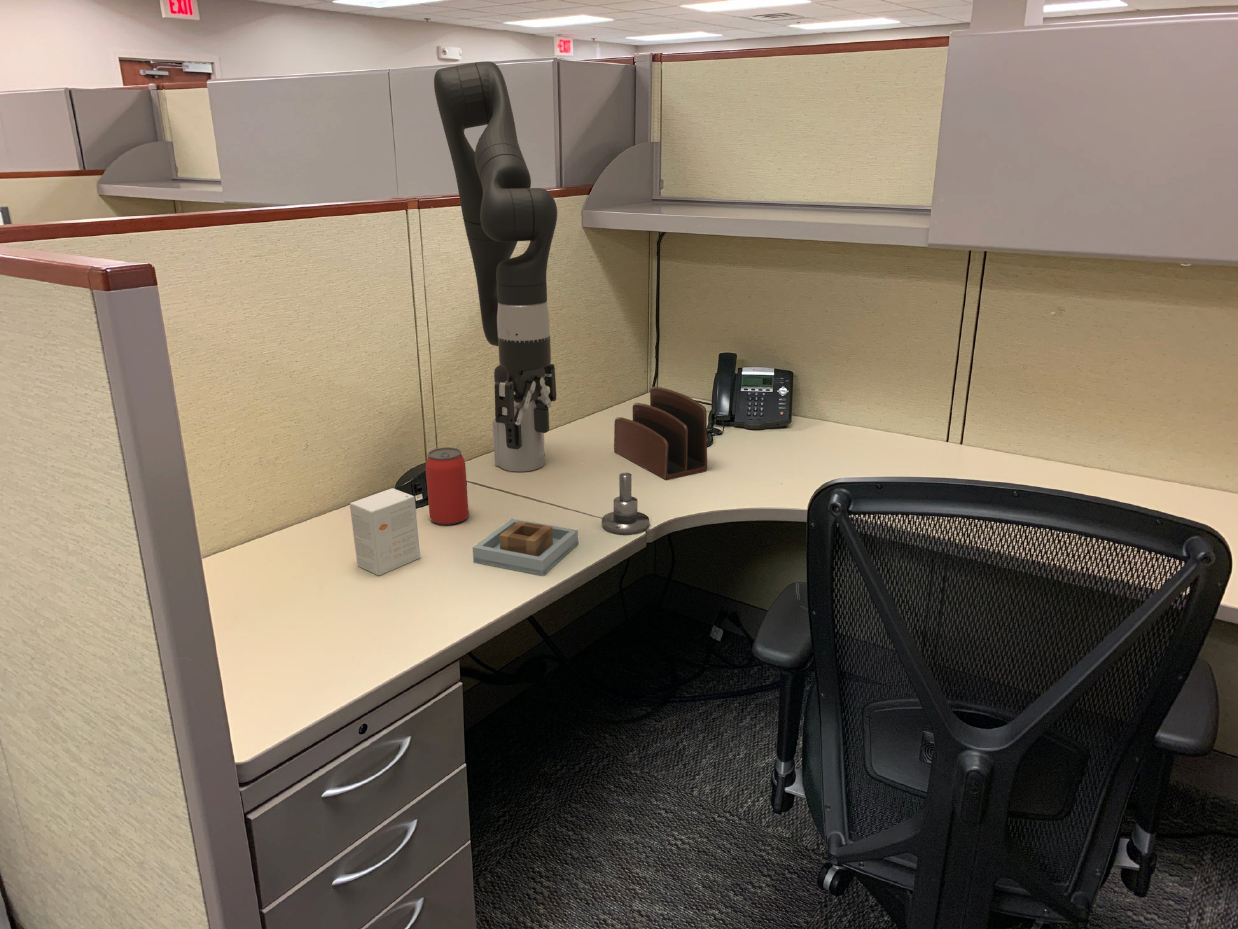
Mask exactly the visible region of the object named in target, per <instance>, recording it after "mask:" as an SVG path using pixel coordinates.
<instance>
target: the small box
mask: <svg viewBox="0 0 1238 929" xmlns="http://www.w3.org/2000/svg"><path fill="white" fill-rule="evenodd" d="M349 508H350V517H351V523H352V525H351V526H352V532H353V533H352V535H353V540H354V541H353V542H354V551H355V557H356V564H357V566H358V568H361V569H364V570H365V571H368V572H369V573H373V574H374V575H377V576H382V575H384V574H386V573H389V572H391V571H393V570H395V569H398V568H400V567H402V566H404V565H407V564H409V563H412V562H414V561H416V560H419V559H420V558H421V548H420V538H419V531H418V528H419V527H418V519H417V509H416V498H415V496H414V495H412V494H409V493H406V492H404V491H401V490H398V489H396V488H393V487H392V488H389V489H386V490H383V491H380V492H378V493H374V494H372V495H369V496H366V497H364V498H360V499H358V500H355V501H352V502H350V503H349Z"/></svg>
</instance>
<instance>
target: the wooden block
mask: <svg viewBox="0 0 1238 929" xmlns="http://www.w3.org/2000/svg"><path fill="white" fill-rule="evenodd" d="M534 523H535V522H534ZM534 523H528V522H522V521H518V522H517V523H515V524H514V525H513V526H511V527H510V528H509V529H507V530H506V531H505V532H503V533H502V534H501V535H499V536H500V549H501V550H506V551H512V552H517V553H522V554H527V555H533V556H540V555H541V554H542V553H543V552H544V551H545V550H547V549H548V548H549V547H550V546H551V545H552V544H553V533H552V527H551V526H545V525H539V524H534Z"/></svg>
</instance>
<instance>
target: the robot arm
mask: <svg viewBox="0 0 1238 929" xmlns="http://www.w3.org/2000/svg"><path fill="white" fill-rule="evenodd" d="M433 89H434V96H435V99H436V104H437V108H438V112H439V116H440V119H441V124H442V127H443V130H444V135H445V139H446V142H447V146H448V149H449V150H448V151H449V154H450V158H451V161H452V165H453V169H454V174H455V175H454V176H455V180H456V184H457V191H458V195H459V202H460V206H461V207H460V208H461V215H462V220H463V224H464V227H465V234H466V237H467V241H468V246H469V250H470V254H471V258H472V263H473V268H474V272H475V277H476V285H477V293H478V294H477V295H478V300H479V308H480V317H481V324H482V329H483V333H484V336H485V338H486V341H487V342H488V344H490V345H491V346H494V347H495V346H496V347H498V361H499V365H498V366H496V367H495V368H494V372H493V376H494V378H493V380H494V413H495V414H494V416H495V417H494V419H493V420H492V435H493V436H492V438H493V440H492V441H493V455H494V458H493V459H494V466H496V467H499V468H501V469H503V470H505V471H509V472H529V471H534V470H538V469H541V468H543V467H544V466H545V465H546V452H545V434H546V433H548V432H549V431H550V413H549V412H550V411H549V409H550V408H551V407H552V402H555V401H556V400H557V385H556V384H557V382H556V368H555V364H554V363H551V362H552V354H551V352H552V351H551V347H552V346H551V320H550V312H549V307H548V289H547V288H548V286H547V285H548V284H547V270H548V269H547V268H548V262H549V257H550V251H551V247H552V242H553V239H554V234H555V230H556V227H557V226H556V225H557V220H558V206H557V202H556V199H555V198H554V196H553V195H552V194H551V192H549V191H548V189H545V188H542V187H532V178H531V174H530V172H529V169H528V168H529V167H528V166H527V163H526V161H525V158H524V156H523V154H522V151H521V147H520V143H519V141H518V135H517V128H516V123H515V117H514V113H513V108H512V104H511V99H510V96H509V91H508V87H507V83H506V80H505V77H504V74H503V72H502V71H501V69H500V67H499V66H498V65H497V64H496V63H495V62H493V61H477V62H470V63H464V64H458V65H451V66H447V67H442V68H439V69H437V70H436V72H435V73H434V76H433ZM481 126H486V127H484V130H483V131H482V133H481V134H480V137H479V138H478V140H477V143H476V146H475V150H474V149H473V147H472V145H471V144H470V143H469V140H468V138H467V136H466V135H465V130H466V129H471V128H477V127H481ZM528 241H529V244H528V246H527V249H526V250H525V251H524V252H523V254H520V255H517V256H515V257H512V255H513V253H514V251H515V249H516V247H517V244H518V242H528ZM548 388H549V389H548Z"/></svg>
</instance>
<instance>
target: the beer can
mask: <svg viewBox="0 0 1238 929" xmlns="http://www.w3.org/2000/svg"><path fill="white" fill-rule="evenodd" d="M466 470H467V468H466V461H465V458H464V457H463V455H462V451H461V449H459V448H458V447H449V446H448V447H438V448H434V449H431V450H430V451H428V452H427V458H426V463H425V475H426V476H425V479H426V489H427V499H428V500H427V501H428V511H429V512H428V513H429V519H430V520H431V522H434V523H435V524H437V525H443V526H445V525H448V526H449V525H456V524H460V523H462V522H464V521H465V520H466V519H467V518H469V514H470V513H469V499H468V486H467V483H468V482H467V471H466Z"/></svg>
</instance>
